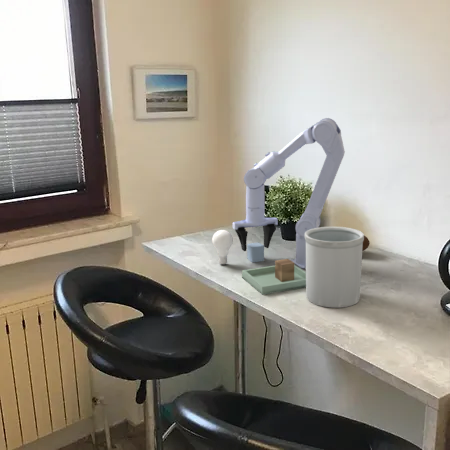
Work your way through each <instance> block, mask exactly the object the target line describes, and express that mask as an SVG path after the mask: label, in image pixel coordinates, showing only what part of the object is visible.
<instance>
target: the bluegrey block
mask: <svg viewBox="0 0 450 450" xmlns="http://www.w3.org/2000/svg"><path fill="white" fill-rule="evenodd" d="M246 244H247V249H246V252H247V253H246V254H247V255H246V258H247V260H248V261H250V262H251V263H252V264H253V263H259V262H264V261H265V247H264V244H262V243H261V242H251V243H246Z"/></svg>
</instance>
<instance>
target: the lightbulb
mask: <svg viewBox="0 0 450 450" xmlns="http://www.w3.org/2000/svg"><path fill="white" fill-rule="evenodd" d="M211 242H212V245H213V247H214V248H215V250H216V252H217V255H218V264H220V265H222V266H223V265H226V264H227V263H228V255H229V250H230V249H231V247H232V245H233V243H234V237H233V235H232V233H231V232H229V230H226V229H219V230H217V231H216V232H214V233H213V235H212V238H211Z"/></svg>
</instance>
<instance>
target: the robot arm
mask: <svg viewBox="0 0 450 450" xmlns="http://www.w3.org/2000/svg"><path fill="white" fill-rule="evenodd" d="M315 143H318V144H319V146H321V148H322V149H323V151H324V153H325V155H326V157H325V160H324V162H323V164H322V167H321V170H320V173H319V174H318V178H317V180H316V182H315V185H314V187H313V190H312V193H311V195H310V198H309V200H308V203H307V206H306V207H305V210H304V212H303V213H302V215H300V218H299V220H297V222H296V224H295V228H294V229H295V232H296V234H295V258H294V259H293V258H292V259H290V260H291V261H292V262H294V265H296V266H297V267H299V268H300V269H302V270H304V269H306V240H305V232H306V231H308V230H310V229H314V228H319V227H320V226H321V214H322V212H323V209H324V207H325V204H326V201H327V198H328V196H329V193H330V191H331V189H332V186H333V184H334V181H335V179H336V176H337V174H338V171H339V168H340V166H341V164H342V161H343V159H344V156H345V152H346V151H345V147H344V142H343V137H342V132H341V128H340V127H339V125H338V124H337V122H336V121H335V120H334V119H332V118H329V117H325V118H322V119H320V120H319V121H318V122H316V123H314V124H313V125H311V126H309V127H307V128H306V129H304V130H303V131H301V132H300V133H299V134H297V136H295V137H294V138H293V139H292V140H291V141H290V142H288V143H287V144H286V145H285V146H284V147H282V149H280V150H279V151H275V150H273V151H271V152H270V151H268V152H267V153H265V155H264V156H265V157H264V158H263V159H261V160H260V161H259V162H256V163H254V164H253V167H251V168H250V169H248V170H247V171H246V173H245V174H244V176H243V181H244V184H245V185H246V186H245V189H246V191H245V219H242V220H237V221H233V222H232V229H233V230H234V231H235V234H237V237H238V240H239V243H240V247H241V250H242V251H243V252H247V244H248V243H247V240H248V239H247V238H248V231H247V230H246V229H248V228H255V227H262V229H263V245H264V248H266V249H269V247H270V244H271V240H272V237H273V235H274V233H275V232H276V230H277V226H278V225H279V224H278V223H279V221H278V220H279V219H278V218H277V217H266V216H265V215H266V214H265V212H266V211H265V208H266V207H265V203H266V202H265V201H266V199H265V198H266V197H265V196H266V195H265V194H266V193H265V183H266V182H267V180H269V179H270V178H272V177H273V176H274V175H275V174H277V173H278V172H279V171H280V170H282V169H283V168H284V167H285V166H286V160H287V159H288V158H289V157H291V156H292V155H293V154H295V153H296V152H297V151H298V150H300V149H302V147H304V146H305V145H311V144H315Z"/></svg>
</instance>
